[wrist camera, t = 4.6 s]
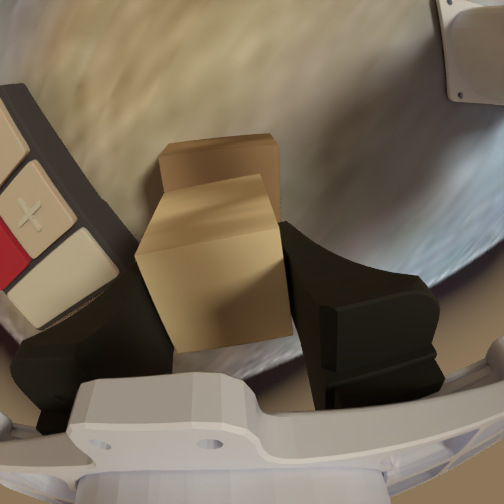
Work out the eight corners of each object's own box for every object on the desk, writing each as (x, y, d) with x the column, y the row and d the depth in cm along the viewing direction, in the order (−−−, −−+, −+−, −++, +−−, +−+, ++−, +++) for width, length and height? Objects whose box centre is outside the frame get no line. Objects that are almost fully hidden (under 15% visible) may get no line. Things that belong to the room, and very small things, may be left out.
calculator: (-8, 83, 11) (128, 281, 18) (30, 79, 15) (144, 247, 22) (-73, 191, 13) (36, 339, 20) (-41, 173, 17) (56, 306, 24)
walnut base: (269, 132, 18) (278, 144, 15) (273, 221, 21) (281, 248, 18) (169, 142, 18) (158, 157, 15) (183, 230, 21) (177, 258, 18)
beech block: (259, 173, 13) (279, 228, 8) (273, 257, 15) (293, 334, 10) (163, 193, 13) (134, 256, 8) (188, 272, 15) (177, 353, 10)
